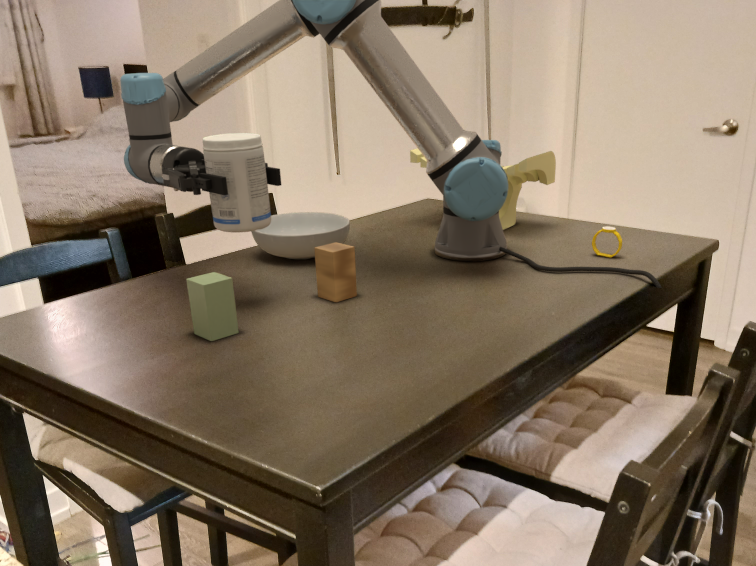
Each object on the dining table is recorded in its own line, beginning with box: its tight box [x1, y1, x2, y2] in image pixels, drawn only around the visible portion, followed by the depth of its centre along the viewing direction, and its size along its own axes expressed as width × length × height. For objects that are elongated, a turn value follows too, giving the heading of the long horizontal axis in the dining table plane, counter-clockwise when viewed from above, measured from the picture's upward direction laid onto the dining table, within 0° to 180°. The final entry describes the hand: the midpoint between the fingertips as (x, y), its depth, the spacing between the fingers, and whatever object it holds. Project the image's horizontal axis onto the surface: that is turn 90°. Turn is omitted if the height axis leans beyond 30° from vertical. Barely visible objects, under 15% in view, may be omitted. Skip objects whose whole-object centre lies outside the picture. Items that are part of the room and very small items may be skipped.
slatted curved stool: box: [409, 147, 557, 231], centre depth 181 cm, size 30×16×18 cm, turn 57°
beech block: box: [314, 242, 358, 303], centre depth 134 cm, size 5×5×9 cm
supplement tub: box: [202, 132, 272, 233], centre depth 125 cm, size 10×10×15 cm
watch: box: [591, 225, 623, 259], centre depth 156 cm, size 6×3×6 cm, turn 59°
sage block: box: [185, 271, 239, 342], centre depth 118 cm, size 5×5×9 cm
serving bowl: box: [250, 211, 351, 260], centre depth 162 cm, size 21×21×7 cm
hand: (252, 181), depth 122 cm, fingers closed on supplement tub, 10 cm apart
